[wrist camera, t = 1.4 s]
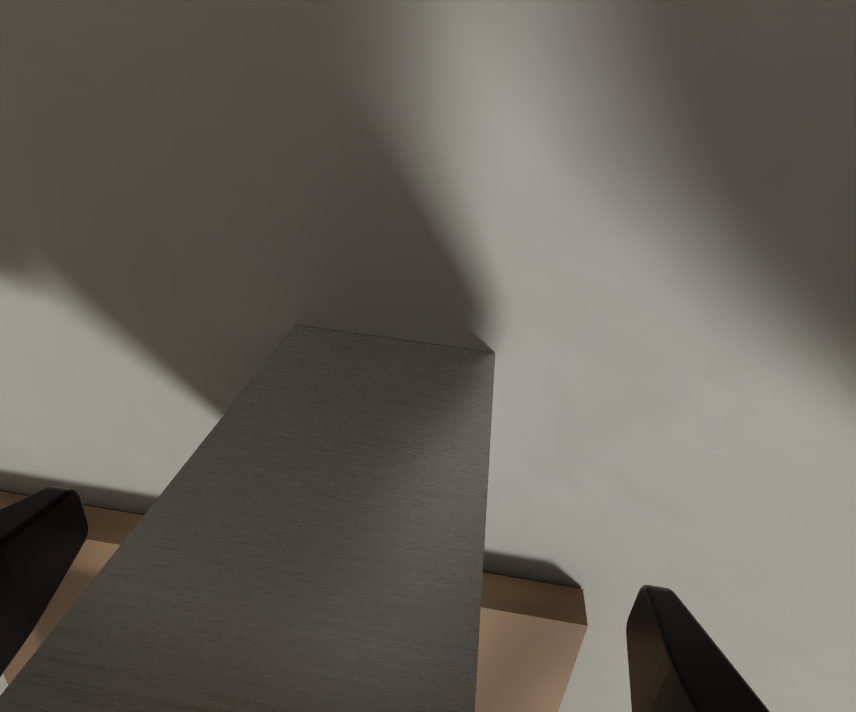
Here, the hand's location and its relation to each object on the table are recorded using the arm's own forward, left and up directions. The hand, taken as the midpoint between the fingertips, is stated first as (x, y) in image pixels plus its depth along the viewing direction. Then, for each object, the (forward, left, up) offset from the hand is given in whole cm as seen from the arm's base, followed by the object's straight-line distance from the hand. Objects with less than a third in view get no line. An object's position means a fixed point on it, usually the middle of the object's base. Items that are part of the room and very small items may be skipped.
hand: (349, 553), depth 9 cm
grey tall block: (0, 0, -4) cm, 4 cm away
